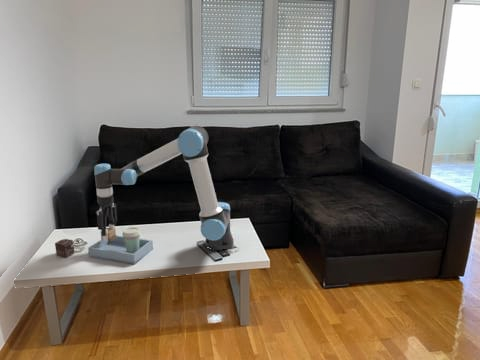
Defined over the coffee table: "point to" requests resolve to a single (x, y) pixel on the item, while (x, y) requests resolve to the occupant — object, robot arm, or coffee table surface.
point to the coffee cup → (131, 239)
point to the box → (64, 248)
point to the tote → (119, 250)
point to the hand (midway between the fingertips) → (109, 238)
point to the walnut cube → (110, 234)
